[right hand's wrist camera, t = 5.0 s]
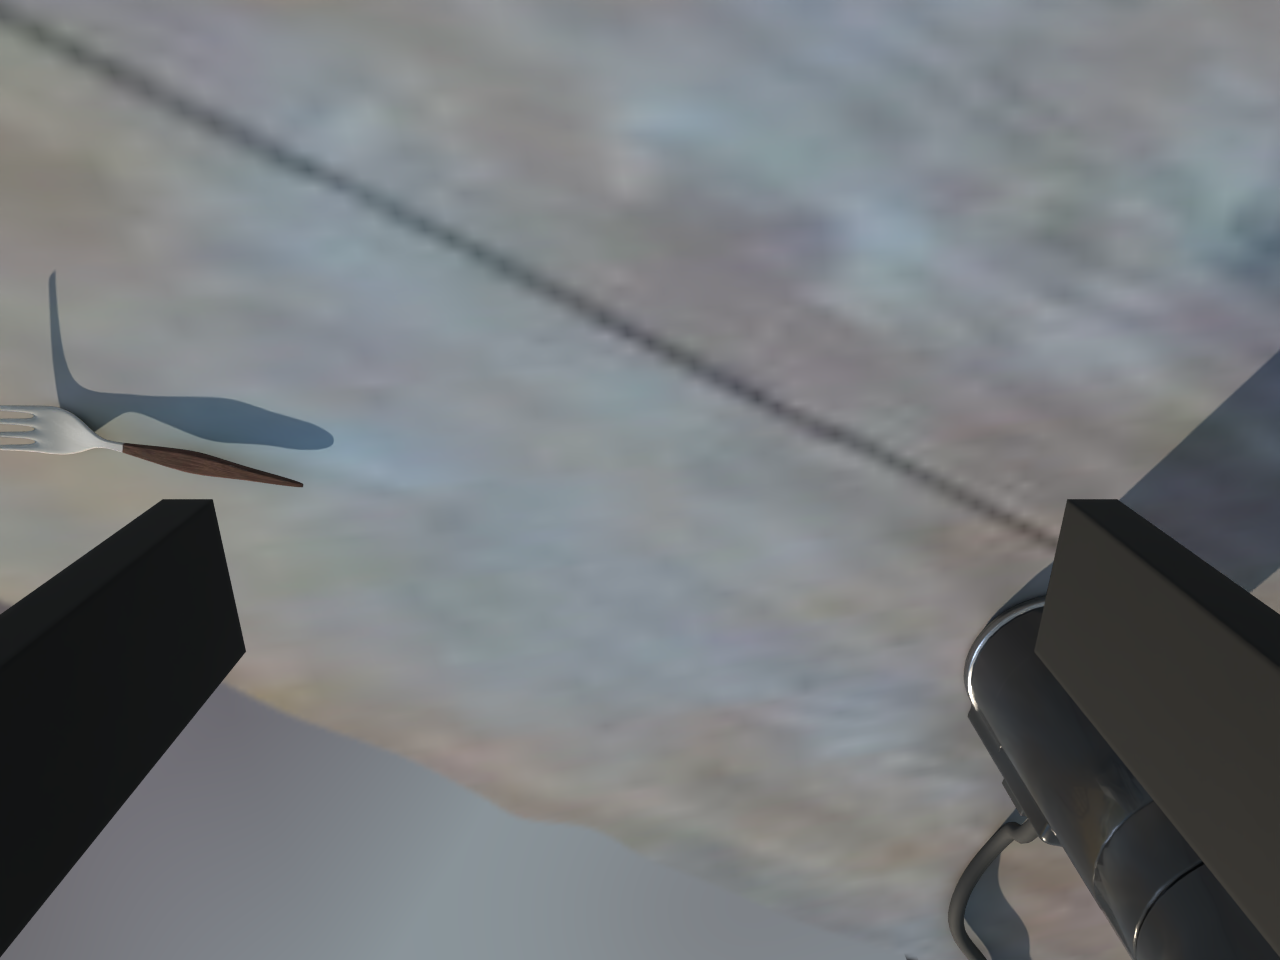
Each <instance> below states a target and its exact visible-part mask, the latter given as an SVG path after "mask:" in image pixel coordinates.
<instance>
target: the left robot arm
mask: <svg viewBox="0 0 1280 960" xmlns="http://www.w3.org/2000/svg"><path fill="white" fill-rule="evenodd" d="M1045 599H1046V596H1044V597H1038V598H1035V599H1031V600H1028V601H1025V602H1023V603H1020V604H1018V605H1016V606H1014V607H1012V608H1010V609H1008V610H1006V611H1005V612H1003V613H1002V614H1000V615H999V616H998V617H996V618H995V619H994V620H993V621H991V622H990V623H989V624H988V625H987V626H986V627H985V628H984V629H983V631H982V632H981V633H980V634H979V636H978V637H977V638H976V640H975V641H974V643H973V645H972V647H971V649H970V651H969V653H968V656H967V659H966V663H965V668H964V683H965V688H966V692H967V694H968V697H969V699H970V701H971V702H972V706H971V709H970V711H969V714H968V718H969V720H970V721H971V723H972V725H973V726H974V728H975V730H976V732H977V733H978V735H979V737H980V738H981V740H982V742H983V743H984V745H985V747H986V749H987V750H988V752H989V754H990V755H991V757H992V759H993V760H994V762H995V764H996V765H997V767H998V769H999V771H1000V772H1001V774H1002V776H1003V777H1004V780H1003V782H1002V784H1003V786H1004V788H1005V789H1006V791H1007V793H1008V795H1009V796H1010V798H1011V800H1012V801H1013V803H1014V805H1015V807H1016V808H1017V810H1018V812H1019V814H1020V815H1021V816H1027V818H1028V820H1027V821H1026V822H1025V823H1024V824H1022V825H1020V824H1018V823H1016V822H1010V823H1006V824H1005V825H1004V826H1003V827H1001V828H1000V829H999V830H998V831H997V832H996V833H995V834H994V835H993V836H992V838H991V839H990V840H989V841H988V842H987V843H986V844H985V845H984V846H983V847H982V849H981V850H980V851H979V852H978V853H977V855H976V856H975V857H974V858H973V860H972V861H971V862H970V864H969V865H968V867H967V868H966V870H965V871H964V873H963V875H962V876H961V878H960V880H959V882H958V884H957V886H956V888H955V891H954V893H953V895H952V899H951V902H950V907H949V912H948V922H949V927H950V930H951V933H952V935H953V938H954V940H955V942H956V943H957V945H958V947H959V948H960V949H961V951H962V952H963V953H964V954H965V956H966V957H967V958H968V959H969V960H987V959H986V958H985V957H984V955H983V954H982V953H981V952H980V950H979V949H978V948H977V947H976V946H975V944H974V943H973V942H972V940H971V939H970V938H969V936H968V935H967V933H966V931H965V927H964V913H965V908H966V905H967V901H968V899H969V897H970V894H971V892H972V890H973V888H974V886H975V885H976V883H977V881H978V880H979V878H980V877H981V875H982V874H983V873H984V871H985V870H986V869H987V867H988V866H989V865H990V864H991V863H992V861H993V860H994V859H995V858H996V857H997V856H998V855H999V854H1000V853H1001V852H1002V851H1003V850H1004V849H1005V848H1006V847H1007V846H1008V845H1009V844H1010V843H1011V842H1012V841H1013V840H1015V841H1017V842H1019V843H1029V842H1031V841H1033V840H1034V839H1035V838H1037V837H1039V838H1040V839H1041V840H1042V841H1044V842H1045V843H1047V844H1050V845H1055V846H1061V847H1063V849H1064V850H1065V852H1066V854H1067V855H1068V857H1069V858H1070V860H1071V862H1072V863H1073V865H1074V867H1075V868H1076V870H1077V871H1078V873H1079V875H1080V876H1081V878H1082V880H1083V881H1084V883H1085V884H1086V886H1087V888H1088V889H1089V891H1090V892H1091V894H1092V896H1093V897H1094V899H1095V901H1096V902H1097V904H1098V905H1099V907H1100V909H1101V910H1102V911H1103V913H1104V915H1105V916H1106V918H1107V920H1108V921H1109V923H1110V924H1111V926H1112V928H1113V929H1114V931H1115V933H1116V934H1117V936H1118V937H1119V939H1120V941H1121V942H1122V944H1123V946H1124V947H1125V949H1126V950H1127V952H1128V954H1129V955H1130V957H1131V959H1132V960H1280V957H1279V956H1278V954H1277V953H1276V952H1275V951H1274V949H1273V948H1272V947H1271V946H1270V944H1269V943H1268V942H1267V941H1266V939H1265V938H1264V937H1263V936H1262V934H1261V933H1260V932H1259V931H1258V930H1257V928H1256V927H1255V926H1254V925H1253V923H1252V922H1251V921H1250V920H1249V918H1248V917H1247V916H1246V915H1245V913H1244V912H1243V911H1242V910H1241V908H1240V907H1239V906H1238V905H1237V903H1236V902H1235V901H1234V900H1233V898H1232V897H1231V896H1230V895H1229V893H1228V892H1227V891H1226V890H1225V888H1224V887H1223V886H1222V885H1221V883H1220V882H1219V881H1218V880H1217V879H1216V877H1215V876H1214V875H1213V874H1212V872H1211V871H1210V870H1209V869H1208V867H1207V866H1206V865H1205V864H1204V862H1203V861H1202V860H1201V859H1200V857H1199V856H1198V855H1197V854H1196V852H1195V851H1194V850H1193V849H1192V847H1191V846H1190V845H1189V844H1188V842H1187V841H1186V840H1185V839H1184V837H1183V836H1182V835H1181V834H1180V832H1179V831H1178V830H1177V829H1176V827H1175V826H1174V825H1173V824H1172V823H1171V821H1170V820H1169V819H1168V818H1167V816H1166V815H1165V814H1164V813H1163V811H1162V810H1161V809H1160V808H1159V806H1158V805H1157V804H1156V803H1155V801H1154V800H1153V799H1152V798H1151V796H1150V795H1149V794H1148V793H1147V791H1146V790H1145V789H1144V788H1143V786H1142V785H1141V784H1140V783H1139V781H1138V780H1137V779H1136V778H1135V776H1134V775H1133V774H1132V773H1131V771H1130V770H1129V769H1128V768H1127V767H1126V765H1125V764H1124V763H1123V762H1122V760H1121V759H1120V758H1119V757H1118V755H1117V754H1116V753H1115V752H1114V750H1113V749H1112V748H1111V747H1110V745H1109V744H1108V743H1107V742H1106V740H1105V739H1104V738H1103V737H1102V735H1101V734H1100V733H1099V732H1098V730H1097V729H1096V728H1095V727H1094V725H1093V724H1092V723H1091V722H1090V720H1089V719H1088V718H1087V717H1086V716H1085V714H1084V713H1083V712H1082V711H1081V709H1080V708H1079V707H1078V706H1077V704H1076V703H1075V702H1074V701H1073V699H1072V698H1071V697H1070V696H1069V694H1068V693H1067V692H1066V691H1065V689H1064V688H1063V687H1062V686H1061V684H1060V683H1059V682H1058V681H1057V679H1056V678H1055V677H1054V676H1053V674H1052V673H1051V672H1050V671H1049V669H1048V668H1047V667H1046V666H1045V664H1044V663H1043V662H1042V661H1041V660H1040V658H1039V657H1038V656H1037V655H1036V653H1035V652H1034V650H1035V645H1036V640H1037V636H1038V631H1039V627H1040V622H1041V618H1042V613H1043V608H1044V604H1045ZM906 960H914V959H912V958H907V957H906Z"/></svg>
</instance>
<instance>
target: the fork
mask: <svg viewBox="0 0 1280 960" xmlns="http://www.w3.org/2000/svg"><path fill="white" fill-rule="evenodd" d="M0 411H13V412H25V413H30V414H33V415H34V417H32V418H26V419H0V424H11V425H24V426H31V427H33V428H34V430H33V431H27V432H0V437H12V438H26V439H32V440H34V441H35V443H33V444H23V445H0V450H16V451H32V452H42V453H50V454H73V453H79V452H82V451H86V450H89V449H92V448H99V447H102V448H108V449H112V450H116V451H119V452H123V453H126V454H129V455H132V456H135V457H138V458H141V459H144V460H148V461H151V462H154V463H157V464H160V465H163V466H166V467H170V468H173V469H176V470H180V471H184V472H188V473H193V474H199V475H206V476H213V477H222V478H231V479H239V480H247V481H254V482H262V483H269V484H276V485H284V486H293V487H303V484H302V483H300V482H297V481H294V480H291V479H288V478H285V477H281V476H278V475H274V474H271V473H267V472H264V471H260V470H256V469H253V468H249V467H246V466H243V465H239V464H236V463H233V462H230V461H227V460H223V459H220V458H217V457H214V456H210V455H207V454H203V453H199V452H195V451H189V450H183V449H175V448H167V447H158V446H148V445H139V444H130V443H121V442H114V441H109V440H106V439H104V438H102V437H100V436H99V435H97V434H96V433H95V432H94V431H93V430H91V429H90V428H89V427H88V426H87V425H86V424H85V423H84V422H83V421H82V420H81V419H79V418H78V417H77V416H75V415H74V414H72V413H71V412H69V411H67V410H65V409H62V408H58V407H53V406H13V405H5V406H0Z"/></svg>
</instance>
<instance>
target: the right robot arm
mask: <svg viewBox="0 0 1280 960" xmlns="http://www.w3.org/2000/svg"><path fill="white" fill-rule="evenodd" d="M245 652H246V650H245V645H244V640H243V636H242V631H241V627H240V622H239V618H238V613H237V608H236V604H235V599H234V595H233V590H232V586H231V581H230V576H229V572H228V567H227V563H226V558H225V553H224V549H223V544H222V540H221V535H220V531H219V526H218V521H217V517H216V512H215V508H214V503H213V499H163V500H161V501H160V502H158V503H157V504H156V505H154V506H153V507H151V508H150V509H149V510H147V511H146V512H144V513H143V514H142V515H140V516H139V517H137V518H136V519H134V520H133V521H132V522H130V523H129V524H127V525H126V526H125V527H123V528H122V529H120V530H119V531H118V532H116V533H115V534H113V535H112V536H110V537H109V538H108V539H106V540H105V541H103V542H102V543H101V544H99V545H98V546H96V547H95V548H94V549H92V550H91V551H89V552H88V553H87V554H85V555H84V556H82V557H81V558H79V559H78V560H77V561H75V562H74V563H72V564H71V565H70V566H68V567H67V568H65V569H64V570H63V571H61V572H60V573H58V574H57V575H55V576H54V577H53V578H51V579H50V580H48V581H47V582H46V583H44V584H43V585H41V586H40V587H39V588H37V589H36V590H34V591H33V592H31V593H30V594H29V595H27V596H26V597H24V598H23V599H22V600H20V601H19V602H17V603H16V604H15V605H13V606H12V607H10V608H9V609H7V610H6V611H5V612H3V613H2V614H0V957H1V956H2V954H3V953H4V952H5V951H6V949H7V948H8V947H9V946H10V944H11V943H12V942H13V941H14V939H15V938H16V937H17V936H18V934H19V933H20V932H21V931H22V930H23V928H24V927H25V926H26V925H27V923H28V922H29V921H30V920H31V918H32V917H33V916H34V915H35V913H36V912H37V911H38V910H39V908H40V907H41V906H42V905H43V903H44V902H45V901H46V900H47V898H48V897H49V896H50V895H51V893H52V892H53V891H54V890H55V888H56V887H57V886H58V885H59V883H60V882H61V881H62V880H63V878H64V877H65V876H66V875H67V873H68V872H69V871H70V870H71V869H72V867H73V866H74V865H75V863H76V862H77V861H78V860H79V859H80V857H81V856H82V855H83V854H84V852H85V851H86V850H87V849H88V847H89V846H90V845H91V844H92V842H93V841H94V840H95V839H96V837H97V836H98V835H99V834H100V832H101V831H102V830H103V829H104V827H105V826H106V825H107V824H108V822H109V821H110V820H111V819H112V818H113V816H114V815H115V814H116V812H117V811H118V810H119V809H120V808H121V806H122V805H123V804H124V803H125V801H126V800H127V799H128V798H129V796H130V795H131V794H132V793H133V791H134V790H135V789H136V788H137V786H138V785H139V784H140V783H141V781H142V780H143V779H144V778H145V776H146V775H147V774H148V773H149V771H150V770H151V769H152V768H153V767H154V765H155V764H156V763H157V761H158V760H159V759H160V758H161V757H162V755H163V754H164V753H165V752H166V750H167V749H168V748H169V747H170V745H171V744H172V743H173V742H174V740H175V739H176V738H177V737H178V735H179V734H180V733H181V732H182V730H183V729H184V728H185V727H186V725H187V724H188V723H189V722H190V720H191V719H192V718H193V717H194V716H195V714H196V713H197V712H198V710H199V709H200V708H201V707H202V706H203V704H204V703H205V702H206V701H207V699H208V698H209V697H210V696H211V694H212V693H213V692H214V691H215V689H216V688H217V687H218V686H219V684H220V683H221V682H222V681H223V679H224V678H225V677H226V676H227V674H228V673H229V672H230V671H231V669H232V668H233V667H234V666H235V664H236V663H237V662H238V661H239V660H240V658H241V657H242V656H243V655H244V653H245ZM1034 652H1035V653H1036V655H1037V656H1038V657H1039V658H1040V660H1041V661H1042V662H1043V663H1044V664H1045V666H1046V667H1047V668H1048V669H1049V671H1050V672H1051V673H1052V674H1053V676H1054V677H1055V678H1056V679H1057V681H1058V682H1059V683H1060V684H1061V686H1062V687H1063V688H1064V689H1065V691H1066V692H1067V693H1068V694H1069V696H1070V697H1071V698H1072V699H1073V701H1074V702H1075V703H1076V704H1077V706H1078V707H1079V708H1080V709H1081V711H1082V712H1083V713H1084V714H1085V716H1086V717H1087V718H1088V719H1089V720H1090V722H1091V723H1092V724H1093V725H1094V727H1095V728H1096V729H1097V730H1098V732H1099V733H1100V734H1101V735H1102V737H1103V738H1104V739H1105V740H1106V742H1107V743H1108V744H1109V745H1110V747H1111V748H1112V749H1113V750H1114V752H1115V753H1116V754H1117V755H1118V757H1119V758H1120V759H1121V760H1122V762H1123V763H1124V764H1125V765H1126V767H1127V768H1128V769H1129V770H1130V771H1131V773H1132V774H1133V775H1134V776H1135V778H1136V779H1137V780H1138V781H1139V783H1140V784H1141V785H1142V786H1143V788H1144V789H1145V790H1146V791H1147V793H1148V794H1149V795H1150V796H1151V798H1152V799H1153V800H1154V801H1155V803H1156V804H1157V805H1158V806H1159V808H1160V809H1161V810H1162V811H1163V813H1164V814H1165V815H1166V816H1167V818H1168V819H1169V820H1170V821H1171V823H1172V824H1173V825H1174V826H1175V827H1176V829H1177V830H1178V831H1179V832H1180V834H1181V835H1182V836H1183V837H1184V839H1185V840H1186V841H1187V842H1188V844H1189V845H1190V846H1191V847H1192V849H1193V850H1194V851H1195V852H1196V854H1197V855H1198V856H1199V857H1200V859H1201V860H1202V861H1203V862H1204V864H1205V865H1206V866H1207V867H1208V869H1209V870H1210V871H1211V872H1212V874H1213V875H1214V876H1215V877H1216V879H1217V880H1218V881H1219V882H1220V883H1221V885H1222V886H1223V887H1224V888H1225V890H1226V891H1227V892H1228V893H1229V895H1230V896H1231V897H1232V898H1233V900H1234V901H1235V902H1236V903H1237V905H1238V906H1239V907H1240V908H1241V910H1242V911H1243V912H1244V913H1245V915H1246V916H1247V917H1248V918H1249V920H1250V921H1251V922H1252V923H1253V925H1254V926H1255V927H1256V928H1257V930H1258V931H1259V932H1260V933H1261V934H1262V936H1263V937H1264V938H1265V939H1266V941H1267V942H1268V943H1269V944H1270V946H1271V947H1272V948H1273V949H1274V951H1275V952H1276V953H1277V954H1278V956H1279V957H1280V614H1278V613H1277V612H1275V611H1274V610H1273V609H1271V608H1270V607H1268V606H1267V605H1265V604H1264V603H1263V602H1261V601H1260V600H1258V599H1257V598H1256V597H1254V596H1253V595H1251V594H1250V593H1249V592H1247V591H1246V590H1244V589H1243V588H1241V587H1240V586H1239V585H1237V584H1236V583H1234V582H1233V581H1232V580H1230V579H1229V578H1227V577H1226V576H1225V575H1223V574H1222V573H1220V572H1219V571H1217V570H1216V569H1215V568H1213V567H1212V566H1210V565H1209V564H1208V563H1206V562H1205V561H1203V560H1202V559H1201V558H1199V557H1198V556H1196V555H1195V554H1193V553H1192V552H1191V551H1189V550H1188V549H1186V548H1185V547H1184V546H1182V545H1181V544H1179V543H1178V542H1177V541H1175V540H1174V539H1172V538H1171V537H1170V536H1168V535H1167V534H1165V533H1164V532H1162V531H1161V530H1160V529H1158V528H1157V527H1155V526H1154V525H1153V524H1151V523H1150V522H1148V521H1147V520H1146V519H1144V518H1143V517H1141V516H1140V515H1138V514H1137V513H1136V512H1134V511H1133V510H1131V509H1130V508H1129V507H1127V506H1126V505H1124V504H1123V503H1122V502H1120V501H1119V500H1117V499H1067V503H1066V508H1065V512H1064V517H1063V521H1062V526H1061V531H1060V535H1059V540H1058V544H1057V549H1056V553H1055V558H1054V563H1053V567H1052V572H1051V576H1050V581H1049V586H1048V590H1047V595H1046V599H1045V604H1044V608H1043V613H1042V618H1041V622H1040V627H1039V631H1038V636H1037V640H1036V645H1035V650H1034Z"/></svg>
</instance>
